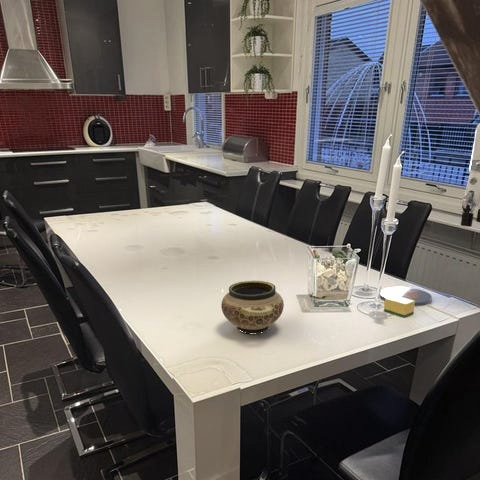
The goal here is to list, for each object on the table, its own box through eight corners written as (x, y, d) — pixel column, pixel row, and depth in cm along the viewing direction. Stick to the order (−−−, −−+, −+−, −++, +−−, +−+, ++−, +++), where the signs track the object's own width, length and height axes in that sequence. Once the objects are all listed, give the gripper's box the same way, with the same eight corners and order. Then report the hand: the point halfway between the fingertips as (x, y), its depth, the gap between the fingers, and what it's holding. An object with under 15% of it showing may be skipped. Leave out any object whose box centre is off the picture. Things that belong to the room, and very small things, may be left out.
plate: (441, 298, 160) (441, 295, 160) (413, 309, 150) (413, 306, 150) (398, 287, 172) (398, 284, 172) (369, 296, 163) (369, 293, 162)
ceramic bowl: (226, 322, 149) (213, 280, 143) (279, 306, 149) (268, 263, 144) (235, 356, 127) (220, 307, 121) (297, 338, 127) (285, 288, 121)
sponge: (413, 313, 147) (415, 300, 145) (404, 317, 144) (405, 304, 142) (392, 307, 152) (394, 294, 151) (383, 311, 150) (385, 298, 148)
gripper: (482, 168, 132) (471, 229, 138) (509, 165, 142) (498, 222, 148) (456, 167, 137) (447, 225, 144) (485, 164, 147) (475, 219, 153)
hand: (473, 224), depth 146 cm, fingers open, 9 cm apart
